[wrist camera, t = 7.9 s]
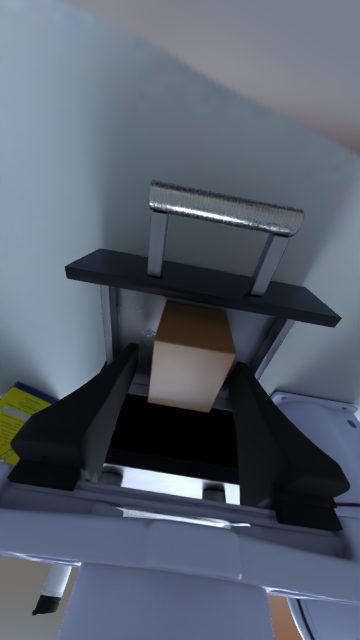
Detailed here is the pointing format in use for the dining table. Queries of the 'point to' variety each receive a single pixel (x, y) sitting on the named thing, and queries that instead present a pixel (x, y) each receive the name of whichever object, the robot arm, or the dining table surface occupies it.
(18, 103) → the dining table surface
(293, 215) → the drawer
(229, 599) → the robot arm
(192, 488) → the black and silver box
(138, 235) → the dining table surface
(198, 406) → the block
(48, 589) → the travel mug
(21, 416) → the supplement box
